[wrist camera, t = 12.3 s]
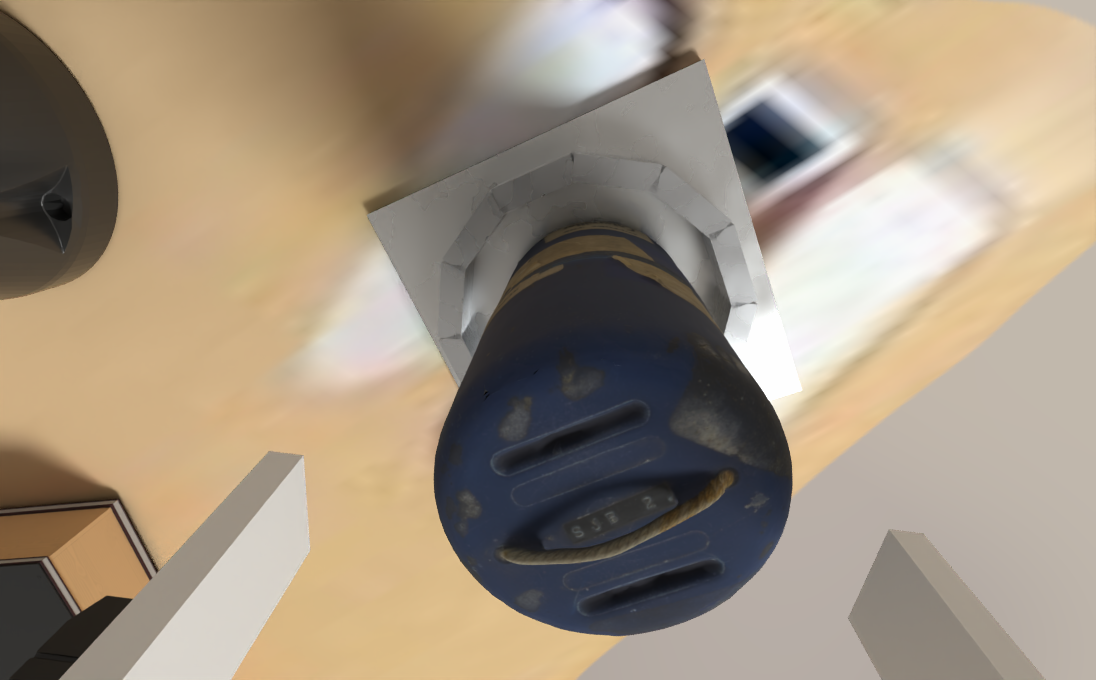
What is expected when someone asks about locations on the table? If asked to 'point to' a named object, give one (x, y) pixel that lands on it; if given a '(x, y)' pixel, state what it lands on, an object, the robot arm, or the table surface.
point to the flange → (595, 195)
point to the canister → (609, 444)
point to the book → (62, 570)
